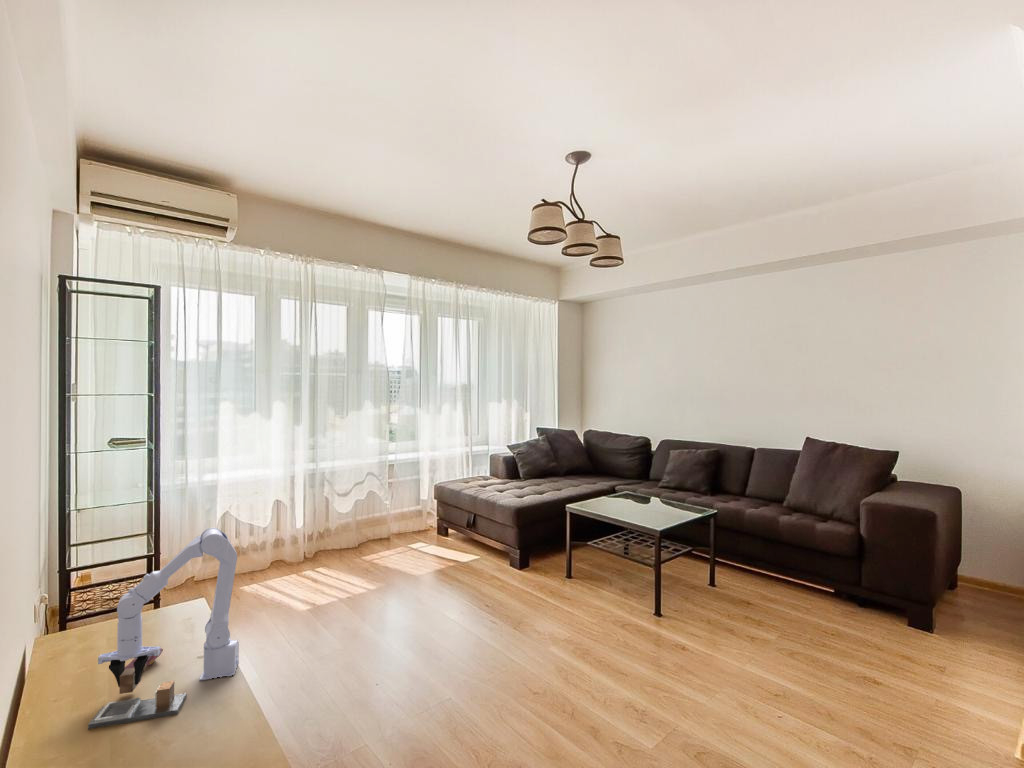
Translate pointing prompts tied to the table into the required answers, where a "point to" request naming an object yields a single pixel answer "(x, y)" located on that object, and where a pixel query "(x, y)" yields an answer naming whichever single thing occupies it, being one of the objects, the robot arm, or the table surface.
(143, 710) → the grey holder base
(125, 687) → the wooden block
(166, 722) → the table surface
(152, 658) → the video game controller
